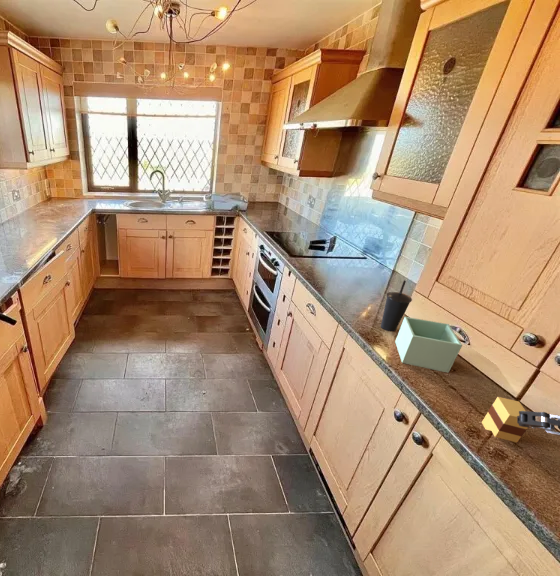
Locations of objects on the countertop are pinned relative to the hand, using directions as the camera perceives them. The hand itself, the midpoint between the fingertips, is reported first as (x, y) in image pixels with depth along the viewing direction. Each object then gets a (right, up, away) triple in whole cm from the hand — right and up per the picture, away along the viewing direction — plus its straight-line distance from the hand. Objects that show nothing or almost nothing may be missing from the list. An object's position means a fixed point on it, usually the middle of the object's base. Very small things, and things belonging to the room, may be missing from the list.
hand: (548, 427), depth 62 cm
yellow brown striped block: (+4, -8, +14) cm, 16 cm away
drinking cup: (+6, +13, +55) cm, 57 cm away
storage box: (+6, +5, +40) cm, 41 cm away
